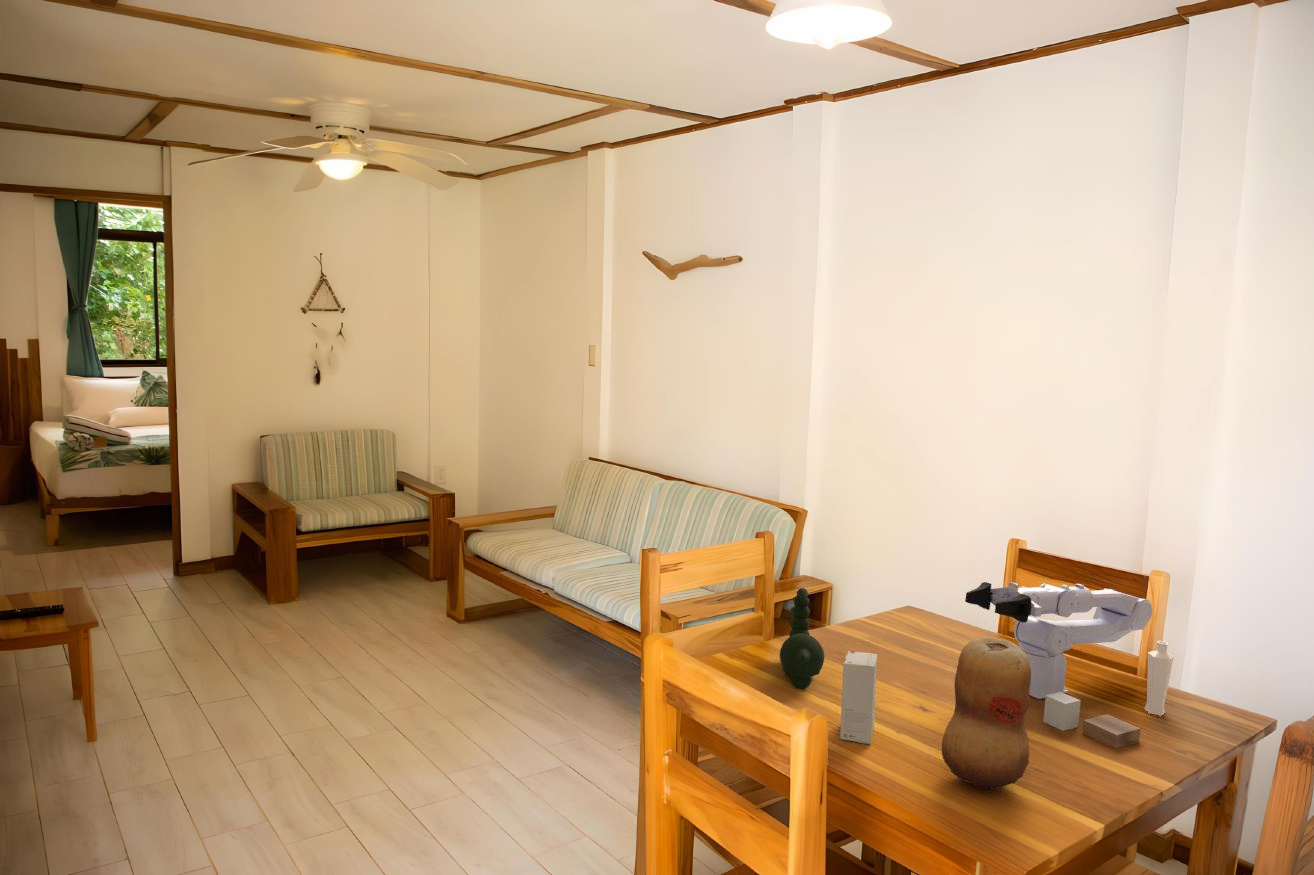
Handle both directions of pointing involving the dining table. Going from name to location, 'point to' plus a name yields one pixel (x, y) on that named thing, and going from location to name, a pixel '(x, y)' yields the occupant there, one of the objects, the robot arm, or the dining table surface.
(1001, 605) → the robot arm
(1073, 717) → the grey block
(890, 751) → the dining table surface
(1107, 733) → the walnut slab
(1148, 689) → the perfume bottle
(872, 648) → the dining table surface
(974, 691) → the butternut squash
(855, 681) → the skincare box
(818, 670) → the toy figurine
